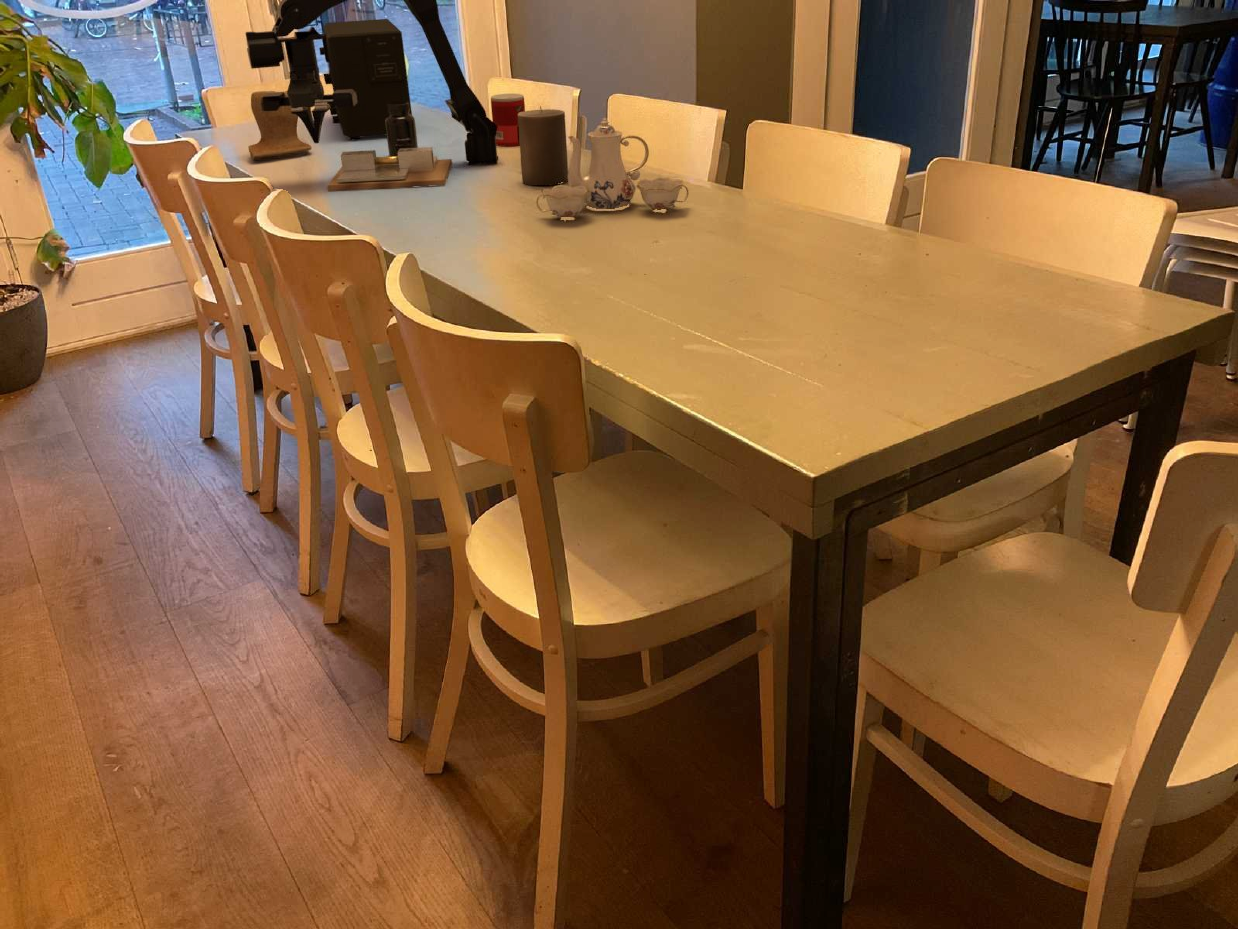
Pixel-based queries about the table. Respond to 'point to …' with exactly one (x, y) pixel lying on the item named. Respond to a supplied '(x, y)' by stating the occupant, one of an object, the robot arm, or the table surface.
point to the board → (411, 180)
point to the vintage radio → (365, 72)
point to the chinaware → (607, 179)
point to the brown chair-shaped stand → (275, 131)
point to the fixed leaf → (414, 160)
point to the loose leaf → (368, 167)
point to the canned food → (507, 117)
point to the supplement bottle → (400, 128)
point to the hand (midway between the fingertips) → (316, 142)
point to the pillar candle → (543, 147)
